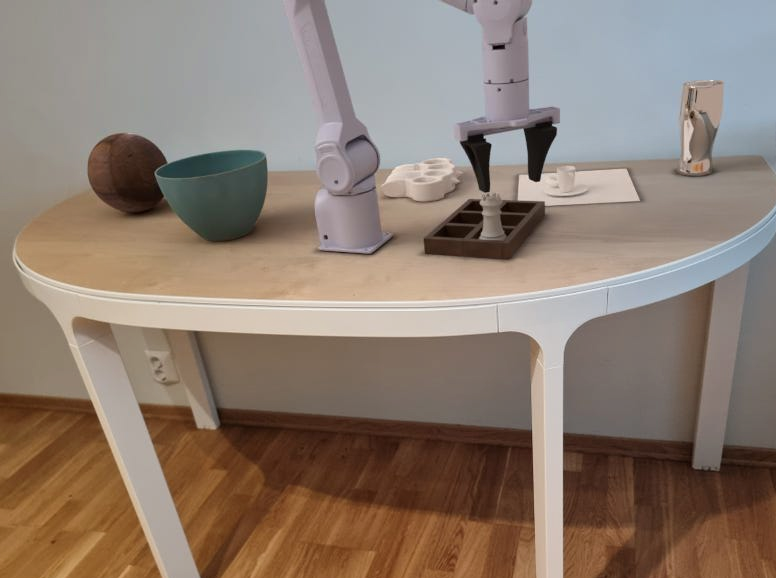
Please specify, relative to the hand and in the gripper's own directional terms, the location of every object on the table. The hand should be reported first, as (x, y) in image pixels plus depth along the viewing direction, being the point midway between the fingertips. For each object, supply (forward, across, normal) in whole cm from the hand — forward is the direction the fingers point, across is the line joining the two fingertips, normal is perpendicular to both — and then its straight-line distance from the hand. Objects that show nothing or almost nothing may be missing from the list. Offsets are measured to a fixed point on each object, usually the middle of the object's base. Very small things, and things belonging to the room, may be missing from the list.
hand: (509, 185), depth 96 cm
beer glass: (+10, +45, +16) cm, 49 cm away
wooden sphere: (+10, -51, +63) cm, 82 cm away
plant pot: (+10, -36, +36) cm, 53 cm away
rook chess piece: (+10, -2, +3) cm, 10 cm away
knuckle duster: (+10, +2, +40) cm, 41 cm away
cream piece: (+10, +24, +22) cm, 34 cm away
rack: (+10, 0, +9) cm, 13 cm away
